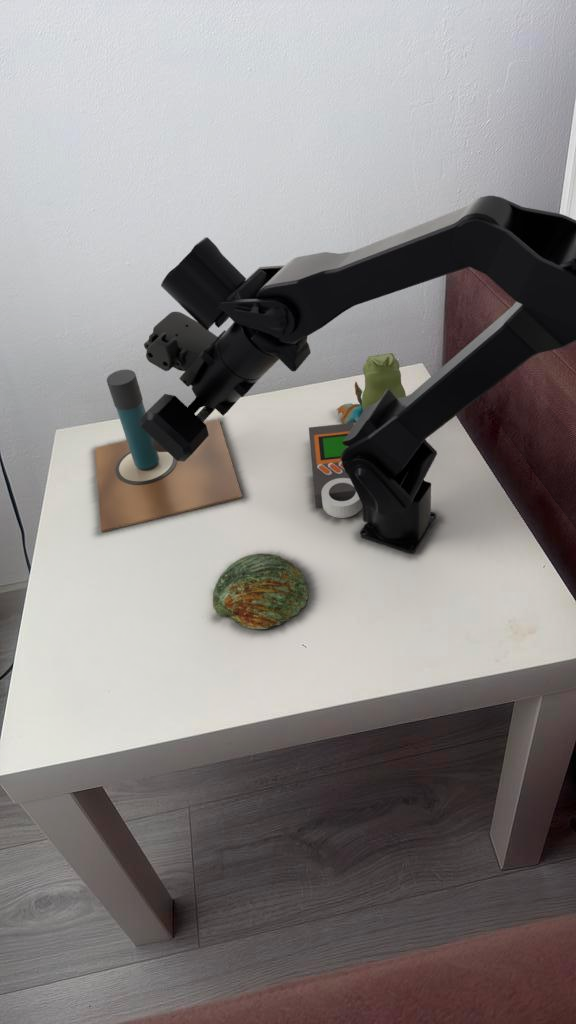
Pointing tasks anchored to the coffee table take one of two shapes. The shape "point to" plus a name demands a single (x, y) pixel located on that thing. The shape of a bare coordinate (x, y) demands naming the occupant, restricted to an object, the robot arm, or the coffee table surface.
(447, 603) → the coffee table surface
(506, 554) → the coffee table surface
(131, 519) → the brown square board
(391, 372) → the green tall rounded piece
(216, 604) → the seashell
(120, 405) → the cylinder
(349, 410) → the dragon figurine
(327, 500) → the electronic device
